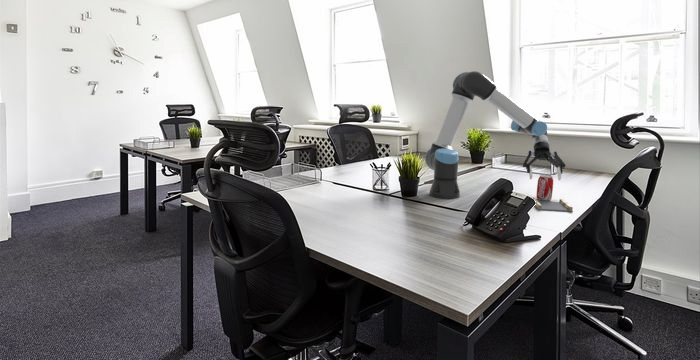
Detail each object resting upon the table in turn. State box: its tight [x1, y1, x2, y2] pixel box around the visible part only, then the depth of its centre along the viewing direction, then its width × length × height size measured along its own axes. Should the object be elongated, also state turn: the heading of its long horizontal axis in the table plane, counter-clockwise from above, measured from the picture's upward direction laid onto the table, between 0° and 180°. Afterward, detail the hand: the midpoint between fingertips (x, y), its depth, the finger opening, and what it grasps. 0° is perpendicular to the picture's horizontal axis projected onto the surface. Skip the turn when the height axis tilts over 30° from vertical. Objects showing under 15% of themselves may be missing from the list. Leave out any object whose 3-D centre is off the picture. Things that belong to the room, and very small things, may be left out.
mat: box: [534, 200, 573, 213], centre depth 195 cm, size 16×14×1 cm
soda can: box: [536, 174, 554, 201], centre depth 207 cm, size 7×7×12 cm
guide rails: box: [532, 197, 573, 211], centre depth 195 cm, size 16×14×2 cm
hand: (545, 178), depth 211 cm, fingers open, 13 cm apart
